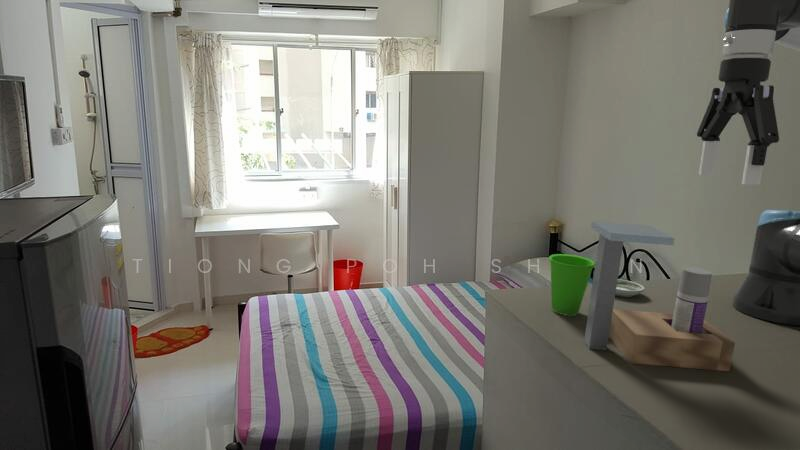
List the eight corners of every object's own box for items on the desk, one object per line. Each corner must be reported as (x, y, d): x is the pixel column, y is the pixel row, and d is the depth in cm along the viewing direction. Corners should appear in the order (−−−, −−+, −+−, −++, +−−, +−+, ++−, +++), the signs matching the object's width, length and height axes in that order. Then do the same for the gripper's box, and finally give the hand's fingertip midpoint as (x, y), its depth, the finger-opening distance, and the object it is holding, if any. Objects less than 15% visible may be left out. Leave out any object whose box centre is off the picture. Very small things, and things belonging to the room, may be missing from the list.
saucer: (630, 288, 134) (632, 278, 133) (651, 302, 124) (652, 291, 124) (592, 286, 133) (593, 277, 132) (609, 300, 124) (611, 289, 123)
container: (692, 349, 98) (707, 268, 95) (700, 360, 94) (717, 276, 91) (664, 345, 99) (678, 265, 96) (671, 356, 94) (686, 272, 91)
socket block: (694, 341, 102) (698, 316, 101) (729, 371, 90) (735, 342, 89) (606, 334, 102) (610, 308, 101) (630, 363, 91) (635, 334, 90)
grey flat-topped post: (630, 338, 101) (649, 225, 97) (652, 362, 92) (674, 238, 87) (575, 333, 102) (592, 221, 97) (592, 357, 92) (610, 233, 88)
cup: (533, 308, 114) (540, 257, 111) (558, 301, 120) (564, 252, 117) (572, 323, 107) (580, 268, 105) (596, 314, 113) (604, 262, 111)
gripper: (687, 63, 108) (673, 171, 113) (772, 49, 84) (749, 188, 88) (725, 64, 108) (709, 172, 113) (821, 51, 84) (796, 190, 88)
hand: (727, 179), depth 101 cm, fingers open, 13 cm apart
